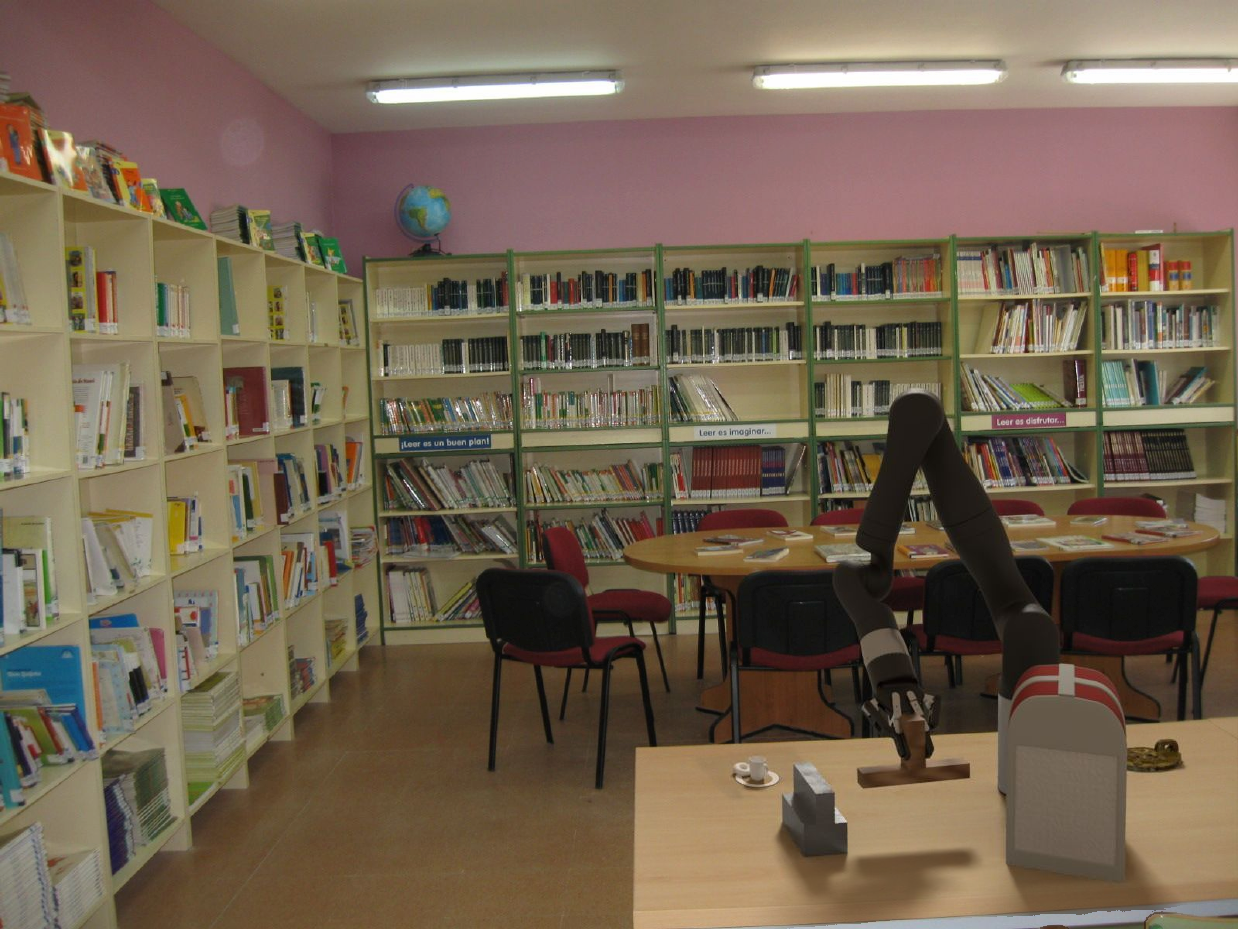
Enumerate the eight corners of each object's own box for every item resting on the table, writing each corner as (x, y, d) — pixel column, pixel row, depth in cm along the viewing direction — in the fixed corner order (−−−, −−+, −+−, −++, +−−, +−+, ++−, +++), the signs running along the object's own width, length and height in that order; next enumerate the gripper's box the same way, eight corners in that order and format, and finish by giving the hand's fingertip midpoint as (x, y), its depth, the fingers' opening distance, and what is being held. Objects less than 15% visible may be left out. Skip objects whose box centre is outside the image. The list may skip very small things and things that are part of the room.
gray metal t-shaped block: (782, 822, 167) (781, 764, 166) (823, 819, 168) (822, 761, 167) (804, 857, 155) (803, 794, 154) (847, 853, 156) (847, 791, 155)
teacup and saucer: (727, 773, 189) (727, 752, 188) (767, 768, 191) (766, 747, 190) (744, 792, 180) (744, 770, 180) (785, 786, 182) (785, 764, 182)
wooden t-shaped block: (962, 771, 165) (961, 709, 164) (970, 778, 162) (969, 716, 161) (856, 782, 163) (855, 719, 162) (863, 789, 160) (861, 725, 159)
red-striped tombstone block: (1003, 863, 151) (1005, 690, 149) (1010, 815, 167) (1011, 657, 165) (1126, 884, 144) (1130, 702, 142) (1120, 831, 160) (1124, 667, 158)
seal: (1119, 781, 183) (1195, 774, 184) (1121, 757, 182) (1198, 750, 183) (1089, 756, 192) (1162, 749, 193) (1091, 733, 191) (1164, 727, 192)
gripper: (852, 654, 167) (881, 752, 156) (933, 647, 169) (967, 744, 158) (843, 675, 173) (870, 771, 162) (921, 669, 175) (953, 763, 164)
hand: (918, 757), depth 160 cm, fingers closed on wooden t-shaped block, 3 cm apart
